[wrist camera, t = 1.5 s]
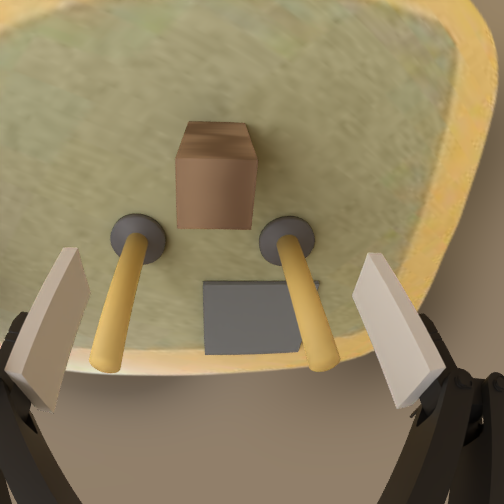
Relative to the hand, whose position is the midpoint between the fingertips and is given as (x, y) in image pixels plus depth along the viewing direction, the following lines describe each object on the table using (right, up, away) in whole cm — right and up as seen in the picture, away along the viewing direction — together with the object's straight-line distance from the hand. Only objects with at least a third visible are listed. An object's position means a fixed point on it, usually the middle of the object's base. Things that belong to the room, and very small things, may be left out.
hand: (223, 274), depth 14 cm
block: (-2, +10, +14) cm, 18 cm away
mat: (+2, -8, +28) cm, 30 cm away
